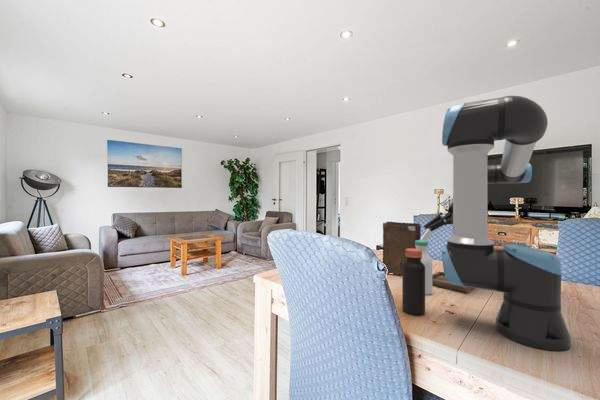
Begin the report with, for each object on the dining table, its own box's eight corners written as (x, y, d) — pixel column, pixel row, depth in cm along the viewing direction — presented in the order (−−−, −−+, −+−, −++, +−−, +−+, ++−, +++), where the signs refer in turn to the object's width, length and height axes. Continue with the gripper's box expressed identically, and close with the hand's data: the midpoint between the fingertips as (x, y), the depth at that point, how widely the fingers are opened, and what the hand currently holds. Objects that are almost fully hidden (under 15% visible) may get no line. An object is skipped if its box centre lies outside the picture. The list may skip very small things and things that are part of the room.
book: (422, 276, 125) (422, 223, 124) (417, 280, 119) (417, 224, 119) (386, 270, 135) (386, 221, 135) (381, 273, 130) (381, 222, 129)
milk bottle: (427, 288, 108) (427, 239, 108) (435, 295, 100) (435, 242, 100) (408, 288, 109) (408, 239, 109) (414, 294, 101) (414, 242, 101)
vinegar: (421, 317, 82) (421, 252, 82) (399, 311, 86) (399, 250, 86) (427, 310, 87) (427, 249, 87) (406, 305, 91) (406, 247, 91)
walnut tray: (467, 294, 102) (467, 287, 102) (424, 284, 113) (424, 278, 113) (478, 284, 112) (479, 279, 112) (438, 276, 124) (438, 271, 124)
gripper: (496, 214, 103) (469, 256, 97) (440, 211, 126) (416, 245, 121) (487, 200, 101) (459, 243, 95) (432, 200, 124) (407, 234, 119)
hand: (435, 244), depth 108 cm, fingers open, 13 cm apart
